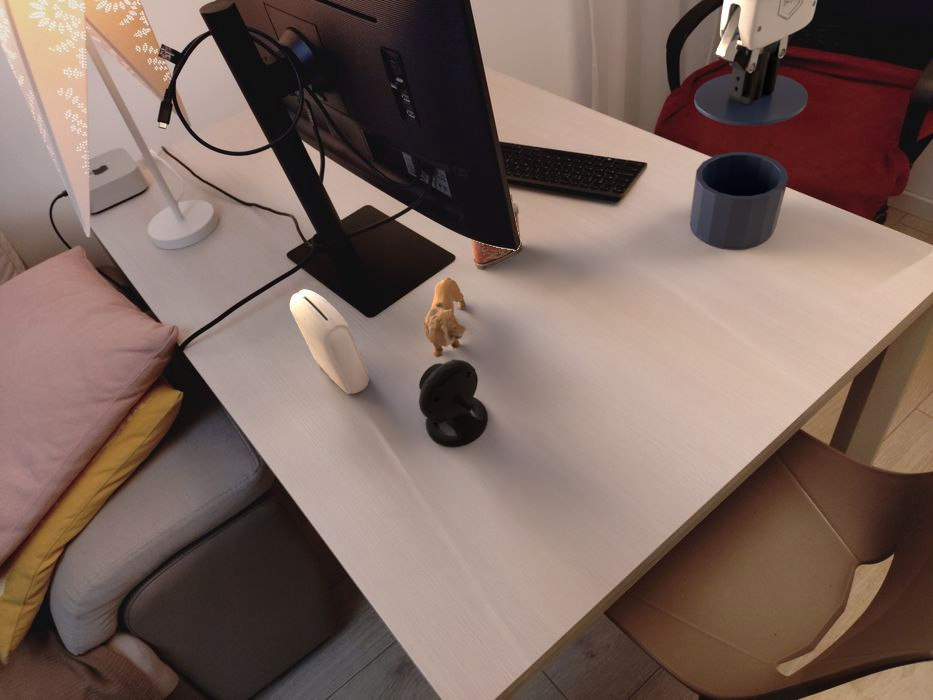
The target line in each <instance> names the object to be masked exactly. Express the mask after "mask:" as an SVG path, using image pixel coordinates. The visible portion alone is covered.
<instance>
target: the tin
mask: <svg viewBox="0 0 933 700" xmlns="http://www.w3.org/2000/svg"><path fill="white" fill-rule="evenodd" d="M788 182H789V178H788V172H787V169H786V168H785V167H784V166H783V165H782V164H781V163H780V161H778V160H775V159H774V158H772V157H769V156H767V155H765V154H760V153H754V152H749V151H731V152H726V153H721V154H716V155H713V156H711V157H710V158H708V159H706V160H704V161H703V162H701V164H700V165H699V166H698V168H697V169H696V171H695V179H694V184H693V185H694V186H693V194H692V200H691V208H690V214H689V228H690V231H691V232H692V234H693V235H694V236H695V237H696V238H697V239H698V240H700V241H701V242H702V243H705V244H707V245H709V246H712V247H714V248H719V249H723V250H746V249H751V248H755V247H758V246H760V245H762V244H764V243H766V242H767V241H768V240H769V239H770V238H771V237H772V236H773V234H774V232H775V230H776V228H777V225H778V220H779V216H780V212H781V209H782V205H783V202H784V201H783V200H784V197H785V192H786V189H787V185H788Z"/></svg>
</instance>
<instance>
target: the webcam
mask: <svg viewBox="0 0 933 700" xmlns="http://www.w3.org/2000/svg"><path fill="white" fill-rule="evenodd" d="M478 384H479V378H478V373H477V370H476V368H475V367H474V366H473V365H472V364H471V363H470V362H468V361H466V360H463V359H451V360H448V361H446V362H443V363H440V362H438V363H434V364H431V365H430V366H428V368H427V369H426V370H425V371H424V372H423V373H422V375H421V377H420V379H419V384H418V387H419V390H420V391H419V398H418V405H419V409H420V412H421V414H422V415H423V416H424V417H425V418H426V419H425V429H426V432H427V434H428V436H429V438H430V439H431V440H432V441H433V442H435V443H436V444H437V445H440V446H443V447H446V448H447V447H448V448H459V447H464V446H467V445H469V444H472V443H473V442H475V441H477V440H478V439H479V438H480V437H481V436H482V435H483V434H484V432H485V430H486V429H487V427H488V423H489V414H488V410H487V408H486V406H485V405H484V403H483V402H482V401H481V400H479V399H478V398H477V397H475V394H476V392H477V389H478V386H479V385H478ZM471 411H473V412H474V414H475V415H474V414H472V413H471ZM440 423H446V424H447V425H448V426H449V427H451V428H452V429H453V430H454V431H455V432H454V433H455V434H454V435H452V434H448V433H445V432H443V431H442V430H441V429H440V428H439V424H440Z"/></svg>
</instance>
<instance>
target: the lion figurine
mask: <svg viewBox="0 0 933 700" xmlns="http://www.w3.org/2000/svg"><path fill="white" fill-rule="evenodd" d="M454 302H456V303H457V308H458V309H459V310H464V309H466V307H467V304H466V301H465V299H464V295H463V293H462V292H461V289H460V287H459V285H458V283H457V281H456V280H454V279H452V278H450V277H445V278H443V279H441V280H439V282H438V283H437V284H436V285H435V288H434V296H433V301H432V304H431V307H430V310H428V312H427V315H426V316H425V318H424V322H423V325H424V333H425V336H426V338H427V340H428V341H429V342H430V343H431V344H432V345H433V347H434V349H433V351H432V353H433V355H434V356H435V357H440V356H442V354H443V352H444V351H443V350H444V349H443V347H445V348H446V347H448V346H451V347H452V349H453V350H455V349H460V346H461V343H460V341H459V340H462V339H463V336H464V333H465V332H466V330H467V327H466V326H464V325H462V324H460V323H459V322H458V320H457V319H458V318H456V316H455V305H454Z"/></svg>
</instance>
